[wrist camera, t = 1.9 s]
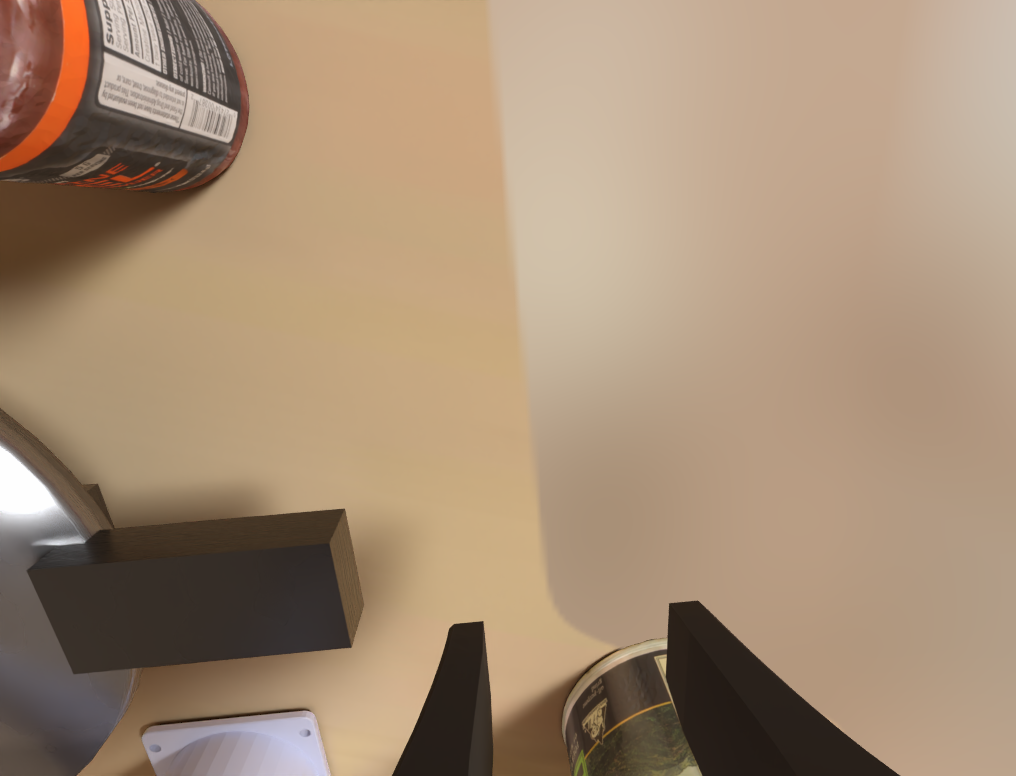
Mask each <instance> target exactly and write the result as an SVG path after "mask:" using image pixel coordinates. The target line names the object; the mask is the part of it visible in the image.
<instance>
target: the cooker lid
mask: <svg viewBox="0 0 1016 776" xmlns="http://www.w3.org/2000/svg"><path fill="white" fill-rule="evenodd" d="M363 606H364V603H363V598H362V593H361V588H360V583H359V578H358V573H357V568H356V562H355V557H354V552H353V547H352V542H351V537H350V532H349V527H348V522H347V517H346V511H345V509H335V510H324V511H312V512H301V513H289V514H278V515H266V516H255V517H243V518H232V519H221V520H209V521H198V522H186V523H175V524H163V525H152V526H140V527H129V528H117V529H113V528H112V527H111V525H110V524H109V522H108V520H107V519H106V517H105V516H104V514H103V512H102V511H101V509H100V508H99V506H98V505H97V503H96V502H95V501H94V500H93V498H92V497H91V496H90V495H89V493H88V492H87V491H86V490H85V489H84V487H83V486H82V485H81V484H80V482H79V481H78V480H77V479H76V477H75V476H74V475H73V474H72V472H71V471H70V470H69V469H68V468H67V467H66V466H65V465H64V464H63V463H62V462H61V461H60V460H59V459H58V458H57V457H56V456H55V455H54V454H53V453H52V452H51V451H50V450H49V449H48V448H47V447H46V446H45V445H43V444H42V443H41V442H40V441H39V440H38V439H37V438H36V437H35V436H34V435H32V434H31V433H30V432H29V431H28V430H26V429H25V428H24V427H23V426H21V425H20V424H19V423H18V422H16V421H15V420H14V419H13V418H11V417H10V416H9V415H8V414H6V413H5V412H4V411H3V410H2V409H0V776H76V775H77V774H78V773H79V772H80V771H81V770H82V769H83V768H84V767H86V766H87V765H88V764H89V763H90V762H91V760H92V759H93V758H94V756H95V755H96V753H97V752H98V751H99V749H100V748H101V746H102V745H103V744H104V742H105V741H106V739H107V738H108V737H109V735H110V734H111V732H112V731H113V730H114V728H115V727H116V725H117V724H118V722H119V721H120V720H121V718H122V717H123V715H124V714H125V713H126V711H127V709H128V707H129V705H130V703H131V701H132V699H133V696H134V694H135V692H136V690H137V688H138V685H139V681H140V677H141V673H142V669H143V668H145V667H156V666H166V665H176V664H187V663H197V662H207V661H217V660H228V659H238V658H248V657H259V656H269V655H279V654H290V653H300V652H310V651H321V650H331V649H341V648H351V647H352V644H353V641H354V637H355V634H356V630H357V627H358V624H359V620H360V617H361V613H362V610H363Z"/></svg>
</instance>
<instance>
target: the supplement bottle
mask: <svg viewBox="0 0 1016 776" xmlns="http://www.w3.org/2000/svg"><path fill="white" fill-rule="evenodd" d="M248 115H249V95H248V90H247V85H246V81H245V76H244V73H243V70H242V67H241V64H240V61H239V58H238V56H237V54H236V52H235V50H234V48H233V46H232V45H231V43H230V41H229V39H228V38H227V36H226V35H225V33H224V32H223V30H222V29H221V27H220V26H219V25H218V24H217V22H216V21H215V20H214V19H213V17H212V16H211V15H210V13H209V12H208V11H207V10H206V9H205V8H203V7H202V6H201V5H200V4H199V3H197V2H196V1H195V0H0V180H2V181H12V182H22V183H48V184H55V185H73V186H83V187H94V188H106V189H125V190H133V191H146V192H151V193H156V192H168V191H179V190H185V189H190V188H193V187H197V186H200V185H202V184H204V183H206V182H208V181H210V180H212V179H213V178H215V177H216V176H218V175H219V174H220V173H221V172H222V171H223V170H224V169H226V168H227V167H229V166H230V165H231V163H232V162H233V160H234V158H235V157H236V155H237V154H238V152H239V150H240V148H241V145H242V142H243V139H244V136H245V133H246V129H247V125H248Z"/></svg>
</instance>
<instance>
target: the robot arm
mask: <svg viewBox="0 0 1016 776" xmlns="http://www.w3.org/2000/svg"><path fill="white" fill-rule="evenodd" d="M666 680H667V684H668V687H669V690H670V693H671V696H672V700H673V703H674V706H675V709H676V712H677V715H678V718H679V721H680V724H681V727H682V730H683V733H684V735H685V737H686V740H687V742H688V744H689V747H690V749H691V751H692V754H693V756H694V758H695V760H696V763H697V765H698V767H699V770H700V772H701V774H702V776H900V775H898V774H897V773H896V772H894V771H893V770H892V769H890V768H889V767H888V766H886V765H885V764H884V763H882V762H881V761H879V760H878V759H877V758H875V757H874V756H873V755H871V754H870V753H869V752H867V751H866V750H865V749H864V748H862V747H861V746H860V745H858V744H857V743H856V742H855V741H853V740H852V739H851V738H850V737H848V736H847V735H846V734H845V733H843V732H842V731H841V730H840V729H839V728H837V727H836V726H835V725H834V724H832V723H831V722H830V721H829V720H828V719H826V718H825V717H824V716H823V715H822V714H820V713H819V712H818V711H817V710H816V709H814V708H813V707H812V706H811V705H810V704H809V703H808V702H806V701H805V700H804V699H803V698H802V697H801V696H799V695H798V694H797V693H796V692H795V691H794V690H793V689H792V688H790V687H789V686H788V685H787V684H786V683H785V682H784V681H783V680H782V679H780V678H779V677H778V676H777V675H776V674H775V673H774V672H773V671H771V670H770V669H769V668H768V667H767V666H766V665H765V664H764V663H763V662H761V660H760V659H758V658H757V657H756V656H755V655H754V654H753V653H752V652H751V651H750V650H749V649H748V648H747V647H746V646H745V645H744V644H743V643H742V642H740V641H739V640H738V639H737V638H736V637H735V636H734V635H733V634H732V633H731V632H730V631H729V630H728V629H727V628H726V627H725V626H724V625H723V624H722V623H721V622H720V621H719V620H718V619H717V618H716V617H714V615H713V614H712V613H710V611H709V610H707V609H706V608H705V607H704V606H703V605H702V604H701V603H700V602H699V601H690V602H679V603H670V604H669V619H668V639H667V659H666ZM141 739H142V743H143V745H144V747H145V750H146V752H147V755H148V757H149V759H150V762H151V764H152V766H153V769H154V771H155V774H156V776H331V774H330V770H329V766H328V763H327V759H326V755H325V751H324V747H323V743H322V739H321V735H320V732H319V728H318V724H317V720H316V717H315V715H314V714H313V713H312V712H310V711H295V712H285V713H275V714H266V715H256V716H246V717H236V718H226V719H216V720H206V721H196V722H186V723H177V724H167V725H157V726H151V727H149V728H147V729H146V731H145V732H144V734H143V736H142V738H141ZM492 767H493V736H492V712H491V693H490V683H489V673H488V663H487V653H486V643H485V633H484V623H483V621H481V622H471V623H460V624H454V625H453V626H452V627H451V628H450V629H449V632H448V636H447V641H446V644H445V648H444V651H443V654H442V658H441V661H440V664H439V667H438V669H437V672H436V675H435V678H434V681H433V683H432V686H431V689H430V691H429V694H428V696H427V698H426V701H425V703H424V706H423V708H422V711H421V713H420V716H419V718H418V721H417V723H416V725H415V728H414V730H413V732H412V734H411V736H410V738H409V741H408V743H407V745H406V747H405V749H404V751H403V753H402V755H401V758H400V760H399V762H398V764H397V766H396V768H395V770H394V773H393V775H392V776H492Z"/></svg>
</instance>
